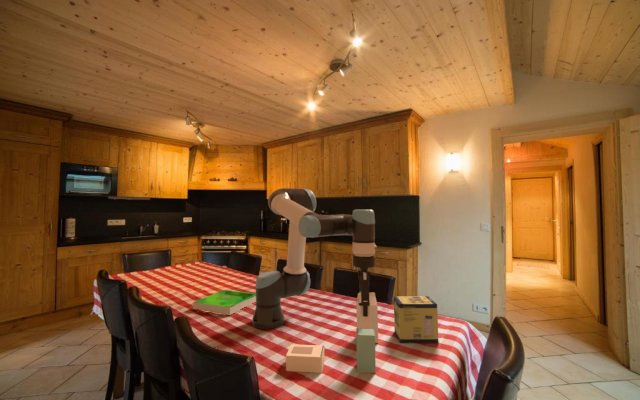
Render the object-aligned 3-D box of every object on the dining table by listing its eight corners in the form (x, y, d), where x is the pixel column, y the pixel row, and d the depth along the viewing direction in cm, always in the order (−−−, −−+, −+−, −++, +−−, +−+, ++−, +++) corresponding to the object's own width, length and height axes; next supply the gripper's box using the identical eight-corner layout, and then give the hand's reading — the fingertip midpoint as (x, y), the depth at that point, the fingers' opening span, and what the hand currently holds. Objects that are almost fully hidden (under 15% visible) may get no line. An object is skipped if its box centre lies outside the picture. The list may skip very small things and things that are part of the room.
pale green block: (357, 372, 92) (356, 334, 93) (356, 363, 97) (356, 327, 98) (375, 372, 92) (374, 334, 92) (374, 364, 97) (373, 328, 97)
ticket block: (286, 370, 94) (286, 354, 94) (291, 358, 101) (291, 343, 102) (322, 372, 92) (321, 356, 92) (324, 359, 100) (324, 345, 100)
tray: (192, 311, 153) (192, 302, 153) (224, 297, 176) (224, 289, 176) (230, 317, 143) (230, 307, 144) (258, 302, 167) (258, 293, 167)
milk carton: (356, 336, 118) (356, 290, 119) (373, 335, 119) (372, 290, 120) (360, 344, 111) (359, 295, 112) (378, 343, 112) (377, 295, 113)
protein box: (393, 332, 122) (392, 295, 123) (429, 331, 122) (428, 295, 122) (399, 343, 112) (398, 303, 112) (439, 343, 111) (438, 303, 112)
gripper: (378, 261, 83) (379, 334, 83) (372, 249, 108) (372, 304, 107) (352, 261, 84) (353, 333, 83) (352, 248, 109) (353, 304, 108)
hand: (364, 317), depth 95 cm, fingers open, 13 cm apart
